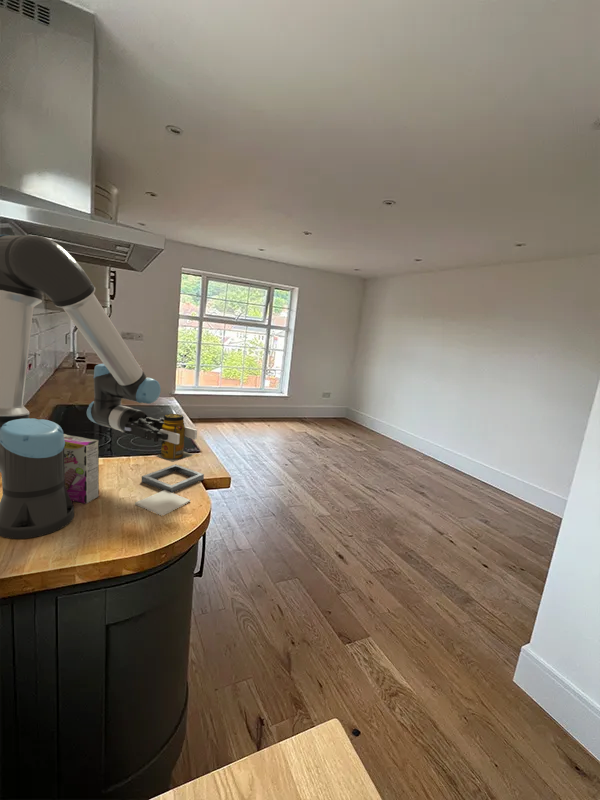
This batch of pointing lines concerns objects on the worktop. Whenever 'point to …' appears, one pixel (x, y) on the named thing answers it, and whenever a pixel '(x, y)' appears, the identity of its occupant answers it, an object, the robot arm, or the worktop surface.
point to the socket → (151, 477)
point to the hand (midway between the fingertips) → (187, 436)
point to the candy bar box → (81, 468)
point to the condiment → (170, 449)
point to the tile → (162, 502)
